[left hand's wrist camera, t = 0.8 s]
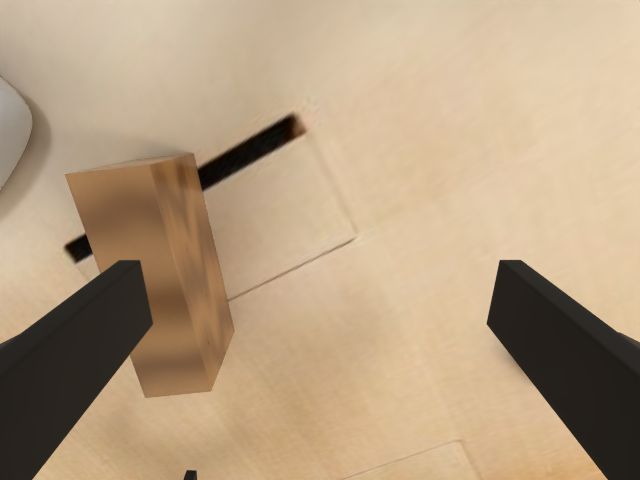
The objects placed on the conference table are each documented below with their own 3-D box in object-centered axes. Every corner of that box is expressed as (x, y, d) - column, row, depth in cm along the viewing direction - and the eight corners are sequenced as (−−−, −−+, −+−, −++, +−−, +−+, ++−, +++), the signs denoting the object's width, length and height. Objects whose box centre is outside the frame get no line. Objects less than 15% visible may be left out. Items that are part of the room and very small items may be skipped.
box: (131, 160, 37) (64, 174, 27) (193, 152, 37) (148, 164, 27) (183, 336, 45) (145, 398, 35) (234, 331, 45) (211, 391, 35)
